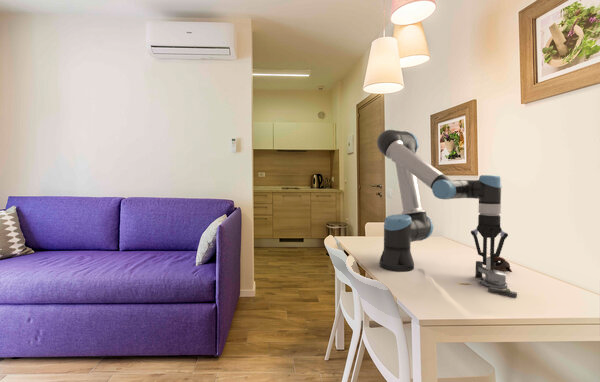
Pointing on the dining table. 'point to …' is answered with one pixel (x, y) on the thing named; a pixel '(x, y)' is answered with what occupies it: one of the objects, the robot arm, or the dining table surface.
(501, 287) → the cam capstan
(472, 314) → the dining table surface
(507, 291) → the stand board
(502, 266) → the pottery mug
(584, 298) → the dining table surface
